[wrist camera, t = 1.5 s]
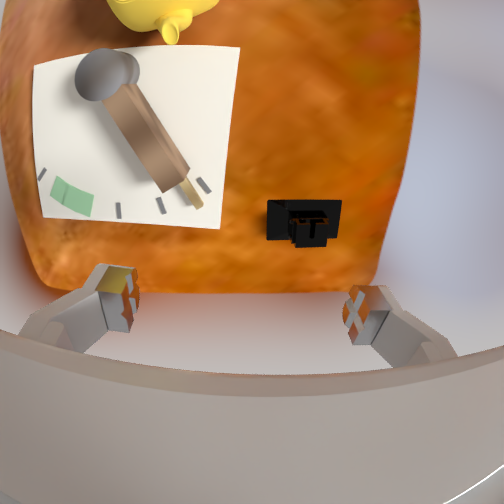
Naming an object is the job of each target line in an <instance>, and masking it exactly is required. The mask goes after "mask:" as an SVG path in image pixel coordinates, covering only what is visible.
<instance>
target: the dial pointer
mask: <svg viewBox="0 0 504 504" xmlns="http://www.w3.org/2000/svg"><path fill="white" fill-rule="evenodd" d="M139 75H140V67H139V64H138V61H137V60H136V58H135V57H134V56H132V55H131V54H129V53H125V52H121V51H117V50H112V49H107V48H100V49H96V50H94V51H92V52H90V53H88V54H87V55H86V56H85V57H84V58H83V59H82V60H81V62H80V63H79V65H78V67H77V69H76V72H75V87H76V90H77V92H78V93H79V95H80V96H81V97H83V98H84V99H86V100H88V101H102V102H103V104H104V106H105V107H106V109H107V110H108V112H109V114H110V115H111V117H112V118H113V120H114V121H115V123H116V125H117V126H118V128H119V129H120V131H121V132H122V134H123V135H124V137H125V138H126V140H127V141H128V143H129V144H130V146H131V148H132V149H133V151H134V152H135V154H136V155H137V157H138V158H139V160H140V161H141V163H142V164H143V166H144V167H145V168H146V170H147V171H148V173H149V174H150V176H151V177H152V179H153V180H154V182H155V183H156V185H157V186H158V188H159V189H160V190H161V192H162V193H165V192H166V191H168V190H169V189H171V188H173V187H174V186H176V185H178V184H179V185H180V186H181V188H182V189H183V191H184V192H185V194H186V195H187V197H188V198H189V200H190V201H191V203H192V204H193V206H194V207H195V209H196V210H198V209H200V208H201V207H203V205H204V202H203V201H202V199H201V198H200V196H199V195H198V193H197V192H196V190H195V188H194V187H193V185H192V184H191V182H190V181H189V179H188V178H187V174H188V172H189V170H190V167H189V165H188V164H187V162H186V161H185V159H184V158H183V156H182V155H181V153H180V151H179V150H178V148H177V147H176V145H175V144H174V142H173V141H172V139H171V137H170V136H169V134H168V133H167V131H166V130H165V128H164V126H163V125H162V123H161V122H160V120H159V119H158V117H157V115H156V114H155V112H154V111H153V109H152V108H151V106H150V104H149V103H148V101H147V100H146V98H145V96H144V95H143V93H142V92H141V90H140V89H139V87H138V85H137V82H138V79H139Z"/></svg>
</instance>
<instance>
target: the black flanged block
mask: <svg viewBox="0 0 504 504" xmlns="http://www.w3.org/2000/svg"><path fill="white" fill-rule="evenodd" d="M341 205H342V200H268V201H267V240H290V241H291V244H294V246H295V248H307V247H326V244H327V239H329V238H337V234H338V228H339V220H340V213H341Z"/></svg>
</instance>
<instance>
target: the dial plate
mask: <svg viewBox="0 0 504 504" xmlns="http://www.w3.org/2000/svg"><path fill="white" fill-rule="evenodd" d="M112 50H117V51H121V52H125V53H129V54H131V55H132V56H134V57H135V58H136V60H137V61H138V64H139V67H140V75H139V79H138V82H137V85H138V87H139V89H140V90H141V92H142V93H143V95H144V96H145V98H146V100H147V101H148V103H149V104H150V106H151V108H152V109H153V111H154V112H155V114H156V115H157V117H158V119H159V120H160V122H161V123H162V125H163V126H164V128H165V130H166V131H167V133H168V134H169V136H170V137H171V139H172V141H173V142H174V144H175V145H176V147H177V148H178V150H179V151H180V153H181V155H182V156H183V158H184V159H185V161H186V162H187V164H188V165H189V167H190V170H189V172H188V174H187V178H188V179H189V181H190V182H191V184H192V185H193V187H194V188H195V190H196V192H197V193H198V195H199V196H200V198H201V199H202V201H203V202H204V205H203V207H201V208H200V209H198V210H196V209H195V207H194V206H193V204H192V203H191V201H190V200H189V198H188V197H187V195H186V194H185V192H184V191H183V189H182V188H181V186H180V185H179V184H178V185H176V186H174V187H173V188H171V189H169V190H168V191H166V192H165V193H162V192H161V190H160V189H159V188H158V186H157V185H156V183H155V182H154V180H153V179H152V177H151V176H150V174H149V173H148V171H147V170H146V168H145V167H144V166H143V164H142V163H141V161H140V160H139V158H138V157H137V155H136V154H135V152H134V151H133V149H132V148H131V146H130V144H129V143H128V141H127V140H126V138H125V137H124V135H123V134H122V132H121V131H120V129H119V128H118V126H117V125H116V123H115V121H114V120H113V118H112V117H111V115H110V114H109V112H108V110H107V109H106V107H105V106H104V104H103V102H102V101H88V100H86V99H84V98H83V97H81V96H80V95H79V93H78V92H77V90H76V87H75V72H76V69H77V67H78V65H79V63H80V62H81V60H82V59H83V58H84V57H85V56H86V55H87V54H88V53H86V54H81V55H76V56H71V57H66V58H62V59H57V60H53V61H49V62H46V63H42V64H38V65H35V66H34V76H33V102H32V115H33V141H34V155H35V165H36V174H37V182H38V189H39V195H40V201H41V207H42V213H43V218H63V219H81V220H99V221H115V222H130V223H145V224H159V225H173V226H186V227H199V228H211V229H220V221H221V209H222V198H223V188H224V178H225V168H226V158H227V149H228V140H229V131H230V122H231V114H232V106H233V98H234V90H235V82H236V75H237V68H238V60H239V53H240V48H236V47H224V46H205V45H161V46H143V47H131V48H121V49H112Z"/></svg>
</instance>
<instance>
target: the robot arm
mask: <svg viewBox="0 0 504 504" xmlns="http://www.w3.org/2000/svg"><path fill="white" fill-rule="evenodd" d="M137 279H138V274H137V270H136V268H132V267H125V266H117V265H109V264H97V265H96V267H95V268H94V270H93V271H92V273H91V274H90V276H89V278H88V279H87V281H86V282H85V284H84V285H83V287H82V289H80V288H78V289H76V290H74V291H72V292H70V293H68V294H67V295H65V296H63V297H61V298H60V299H57V300H56V301H54V302H52V303H50V304H48V305H47V306H45V307H43V308H42V309H40V310H38V311H36V312H34V313H33V314H31V315H30V317H29V318H28V320H27V321H26V323H25V325H24V326H23V328H22V329H21V331H20V332H19V334H18V335H15V334H12V333H9V332H6V331H3V330H0V504H504V345H503V346H500V347H497V348H492V349H489V350H485V351H481V352H477V353H473V354H469V355H464V356H460V357H458V356H457V354H456V352H455V351H454V349H453V347H452V346H451V344H450V342H449V341H448V339H447V338H445V337H444V336H443V335H441V334H440V333H438V332H437V331H435V330H434V329H432V328H431V327H429V326H428V325H427V324H425V323H424V322H422V321H420V320H419V319H418V318H416V317H415V316H413V315H412V314H410V313H409V312H407V311H403V310H402V308H401V306H400V305H399V303H398V302H397V300H396V298H395V297H394V295H393V294H392V292H391V291H390V289H389V287H387V286H383V285H376V286H368V285H353V286H352V287H351V289H350V291H349V295H350V298H349V299H348V300H347V301H346V302H345V304H344V307H343V312H342V317H343V322H344V324H345V325H346V326H347V327H348V328H349V332H348V335H349V337H350V339H351V342H352V344H353V345H371V346H372V347H373V348H374V349H375V350H376V351H377V352H378V353H379V354H380V355H381V356H382V357H383V358H384V359H385V360H386V361H387V362H388V363H389V364H390V365H391V366H392V367H393V368H389V369H380V370H371V371H361V372H349V373H334V374H333V373H332V374H308V375H251V374H229V373H213V372H201V371H189V370H180V369H171V368H163V367H156V366H148V365H142V364H135V363H129V362H123V361H117V360H112V359H107V358H102V357H97V356H93V355H88V354H83V353H84V352H85V351H86V350H87V349H88V348H89V347H91V346H92V345H93V344H94V343H95V342H96V341H98V340H99V339H100V338H101V337H102V336H103V335H104V334H106V333H107V332H108V330H110V331H118V332H126V333H129V332H130V329H131V326H132V324H133V321H134V318H133V314H134V313H136V312H137V310H138V307H139V300H140V290H139V287H138V285H137V284H136V281H137Z"/></svg>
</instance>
